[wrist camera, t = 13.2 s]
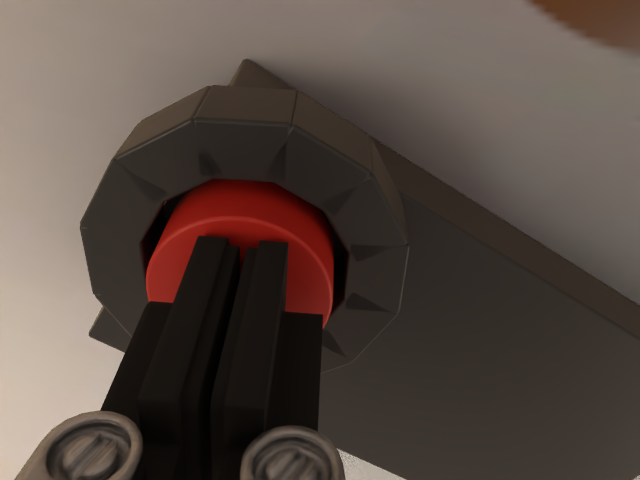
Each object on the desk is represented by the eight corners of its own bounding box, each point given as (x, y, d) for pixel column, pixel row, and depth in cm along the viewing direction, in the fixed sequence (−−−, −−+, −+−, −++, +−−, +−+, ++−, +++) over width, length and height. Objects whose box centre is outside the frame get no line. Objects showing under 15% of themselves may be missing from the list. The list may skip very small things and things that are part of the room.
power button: (140, 264, 13) (115, 316, 12) (214, 139, 12) (196, 181, 10) (280, 334, 14) (272, 389, 13) (367, 228, 13) (370, 278, 11)
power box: (72, 266, 17) (8, 366, 14) (211, -5, 13) (167, 47, 10) (523, 482, 22) (555, 596, 19) (730, 333, 18) (819, 446, 15)
